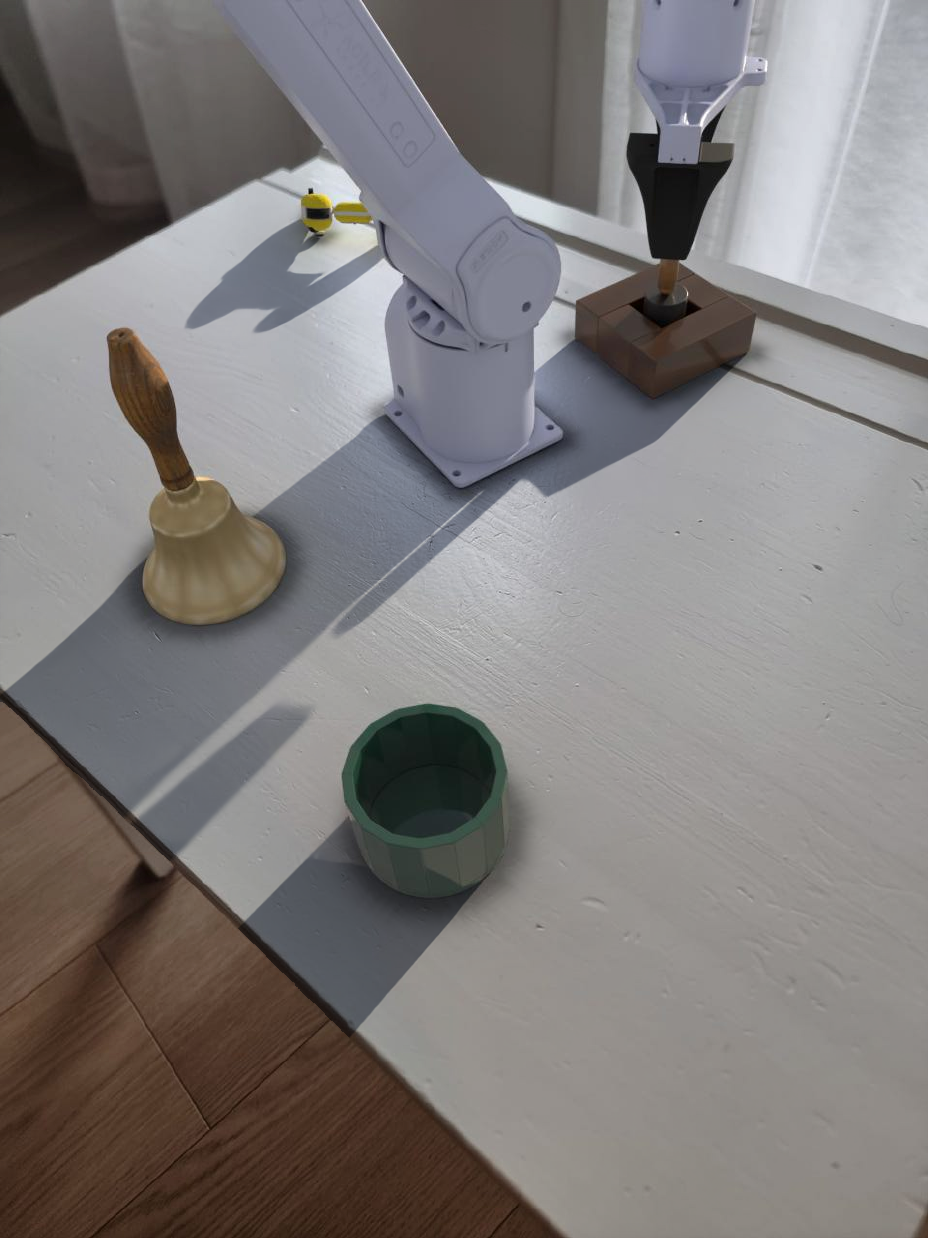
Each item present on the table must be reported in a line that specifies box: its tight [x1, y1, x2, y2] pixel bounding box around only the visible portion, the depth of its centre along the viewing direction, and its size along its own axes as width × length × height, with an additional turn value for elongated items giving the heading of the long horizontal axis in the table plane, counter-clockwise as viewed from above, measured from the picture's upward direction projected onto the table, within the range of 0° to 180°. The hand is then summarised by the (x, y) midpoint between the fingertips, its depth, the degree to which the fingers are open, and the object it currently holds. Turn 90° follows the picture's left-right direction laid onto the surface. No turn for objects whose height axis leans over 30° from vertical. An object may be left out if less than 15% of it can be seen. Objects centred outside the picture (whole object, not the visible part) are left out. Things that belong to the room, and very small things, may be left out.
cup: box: [340, 703, 511, 899], centre depth 44 cm, size 7×7×5 cm
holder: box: [574, 261, 758, 400], centre depth 67 cm, size 8×8×3 cm
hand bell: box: [106, 327, 287, 626], centre depth 51 cm, size 8×8×16 cm
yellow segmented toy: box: [300, 187, 375, 239], centre depth 79 cm, size 10×6×4 cm, turn 80°
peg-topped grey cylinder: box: [643, 259, 688, 328], centre depth 65 cm, size 3×3×8 cm
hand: (674, 221), depth 61 cm, fingers open, 7 cm apart
